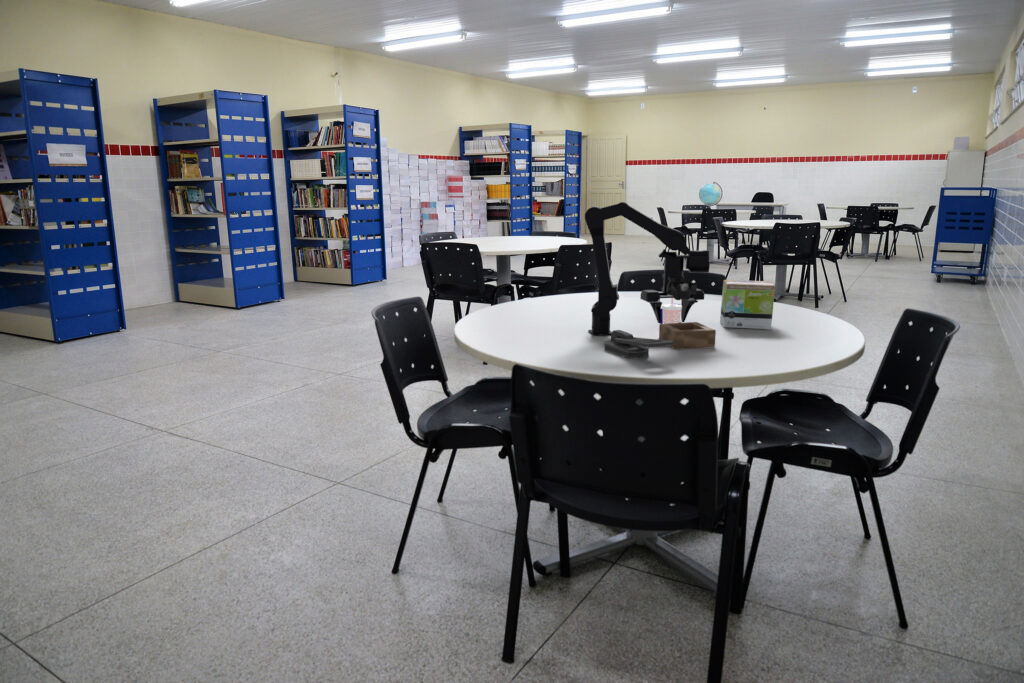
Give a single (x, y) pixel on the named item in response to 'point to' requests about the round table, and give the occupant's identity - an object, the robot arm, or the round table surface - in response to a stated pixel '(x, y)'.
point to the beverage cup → (671, 313)
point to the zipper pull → (632, 344)
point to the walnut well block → (688, 335)
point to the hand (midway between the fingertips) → (671, 322)
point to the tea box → (747, 304)
